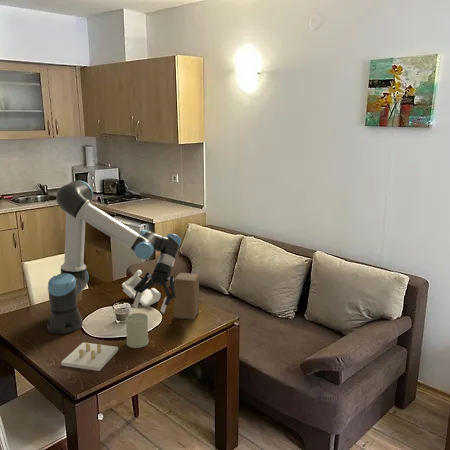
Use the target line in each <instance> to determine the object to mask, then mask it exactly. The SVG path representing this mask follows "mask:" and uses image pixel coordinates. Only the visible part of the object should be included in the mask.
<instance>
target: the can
mask: <svg viewBox="0 0 450 450" xmlns="http://www.w3.org/2000/svg"><path fill="white" fill-rule="evenodd" d="M148 323H149V322H148V315H147V314H145V313H140V312H136V313H135V312H134V313H130V314H128V315H127V316H126V317H125V327H126V328H125V330H126V346H127V347H129V348H132V349H140V348H143V347H145V346H147V345H148V344H149V341H150V340H149V328H148V327H149V326H148Z"/></svg>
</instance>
